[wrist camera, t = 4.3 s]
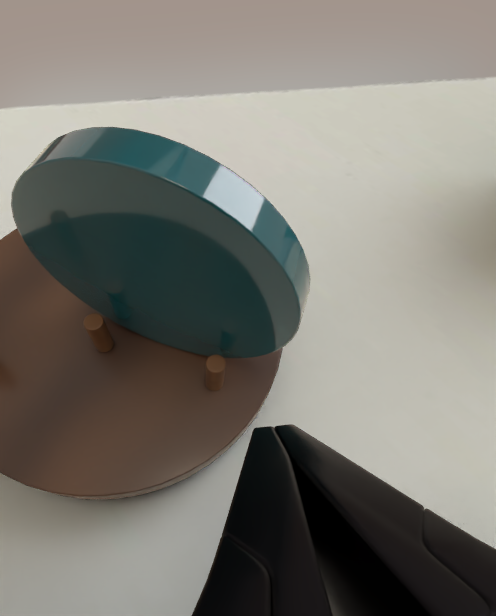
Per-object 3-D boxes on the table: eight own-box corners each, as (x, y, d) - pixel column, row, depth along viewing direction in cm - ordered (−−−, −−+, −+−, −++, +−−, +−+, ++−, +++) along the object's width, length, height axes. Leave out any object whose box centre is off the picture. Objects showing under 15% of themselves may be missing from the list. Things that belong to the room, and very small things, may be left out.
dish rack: (-131, 425, 15) (-618, 258, 6) (66, 181, 22) (-28, -65, 13) (219, 557, 14) (250, 590, 5) (309, 259, 21) (390, 51, 12)
